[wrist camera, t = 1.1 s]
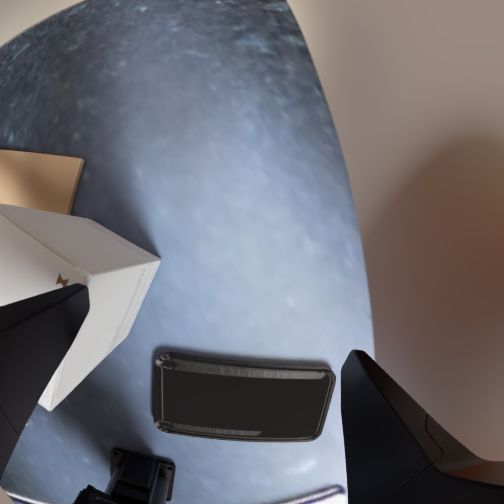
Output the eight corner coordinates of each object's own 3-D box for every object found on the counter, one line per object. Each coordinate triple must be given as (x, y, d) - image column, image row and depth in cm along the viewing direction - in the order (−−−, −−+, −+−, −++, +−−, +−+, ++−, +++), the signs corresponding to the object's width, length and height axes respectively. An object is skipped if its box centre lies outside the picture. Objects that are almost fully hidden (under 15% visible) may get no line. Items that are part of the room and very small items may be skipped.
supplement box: (89, 216, 21) (-17, 192, 9) (164, 259, 22) (96, 275, 9) (57, 294, 21) (-47, 326, 8) (127, 339, 22) (51, 417, 9)
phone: (154, 353, 21) (338, 369, 23) (157, 348, 22) (334, 364, 24) (153, 431, 21) (318, 442, 23) (156, 424, 22) (315, 436, 24)
